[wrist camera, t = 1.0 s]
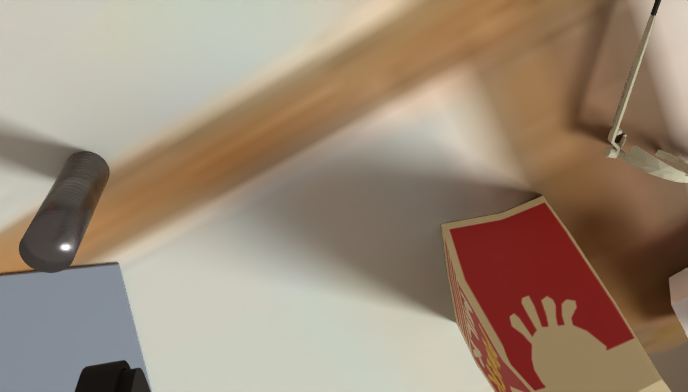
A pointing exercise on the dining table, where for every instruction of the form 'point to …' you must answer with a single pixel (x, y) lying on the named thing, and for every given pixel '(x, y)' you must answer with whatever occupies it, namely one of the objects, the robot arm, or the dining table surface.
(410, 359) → the dining table surface
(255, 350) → the dining table surface
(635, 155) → the sunglasses
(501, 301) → the milk carton
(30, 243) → the post
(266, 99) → the dining table surface
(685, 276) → the figurine
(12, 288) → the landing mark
